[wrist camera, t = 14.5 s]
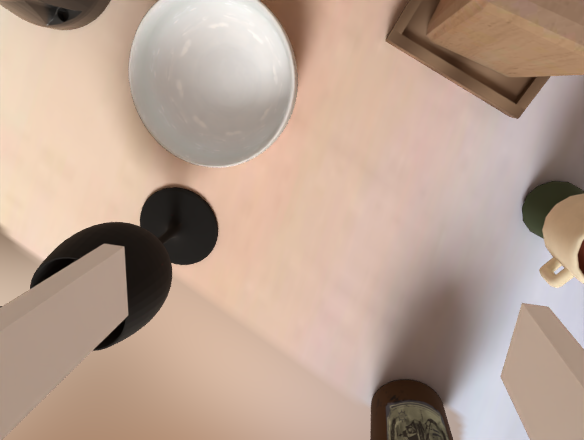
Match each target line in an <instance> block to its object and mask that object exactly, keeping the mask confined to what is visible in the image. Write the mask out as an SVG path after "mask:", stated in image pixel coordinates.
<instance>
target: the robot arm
mask: <svg viewBox="0 0 584 440" xmlns="http://www.w3.org/2000/svg"><path fill="white" fill-rule="evenodd" d="M109 2H110V0H0V5H2V6H3V7H5V8H6V9H8V10H9V11H11V12H12V13H14V14H15V15H17V16H18V17H20V18H22V19H23V20H25V21H28V22H30V23H32V24H35V25H38V26H42V27H47V28H53V29H59V30H71V29H76V28H80V27H83V26H85V25H87V24H89V23H90V22H92V21H93V20H95V19H96V18H97V17H98V16H99V15H100V14H101V13H102V12H103V11H104V10H105V8H106V7H107V5H108V4H109ZM127 316H128V301H127V283H126V266H125V249H124V246H117V245H110V244H103V245H101V246H99V247H98V248H96V249H94V250H93V251H91V252H90V253H88V254H86V255H85V256H83V257H82V258H80V259H78V260H77V261H75V262H73V263H72V264H70V265H69V266H67V267H65V268H64V269H62V270H60V271H59V272H57V273H56V274H54V275H52V276H51V277H49V278H48V279H46V280H44V281H43V282H41V283H39V284H38V285H36V286H35V287H33V288H31V289H30V290H28V291H27V292H25V293H23V294H22V295H20V296H18V297H17V298H15V299H14V300H12V301H10V302H9V303H7V304H6V305H4V306H0V440H3V439H4V438H5V436H7V435H8V434H9V433H10V432H11V431H12V430H13V429H14V428H15V427H16V426H17V425H18V424H19V423H20V422H21V421H22V420H23V419H24V418H25V417H26V416H27V415H28V414H29V413H30V412H31V411H32V410H33V409H34V408H35V407H36V406H37V405H38V404H39V403H40V402H41V401H42V400H43V399H44V398H45V397H46V396H47V395H48V394H49V393H50V392H51V391H52V390H53V389H54V388H55V387H56V386H57V385H58V384H59V383H60V382H61V381H62V380H63V379H64V378H65V377H66V376H67V375H68V374H69V373H70V372H71V371H72V370H73V369H74V368H75V367H76V366H77V365H78V364H79V363H81V362H82V361H83V360H84V358H86V357H87V355H89V354H90V353H91V352H92V351H93V350H94V349H95V348H96V347H97V346H98V345H99V344H100V343H101V342H102V341H103V340H104V339H105V338H106V337H107V336H108V335H109V334H110V333H111V332H112V331H113V330H114V329H115V328H116V327H117V326H118V325H119V324H120V323H121V322H122V321H123V320H124V319H125V318H126V317H127ZM501 379H502V381H503V383H504V385H505V387H506V389H507V391H508V394H509V396H510V398H511V400H512V402H513V404H514V406H515V409H516V411H517V413H518V415H519V417H520V419H521V421H522V423H523V426H524V428H525V430H526V432H527V434H528V436H529V438H530V440H584V349H583V348H582V347H581V345H580V344H579V343H578V342H577V341H576V339H575V338H574V337H573V336H572V335H571V333H570V332H569V331H568V330H567V329H566V327H565V326H564V325H563V324H562V323H561V321H560V320H559V319H558V318H557V317H556V315H555V314H554V313H553V312H552V310H551V309H550V308H549V307H546V306H539V305H532V304H525V303H522V305H521V308H520V312H519V315H518V319H517V322H516V325H515V329H514V332H513V336H512V339H511V343H510V346H509V349H508V353H507V356H506V360H505V363H504V367H503V370H502V373H501Z"/></svg>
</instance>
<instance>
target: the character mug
mask: <svg viewBox="0 0 584 440" xmlns="http://www.w3.org/2000/svg"><path fill="white" fill-rule="evenodd" d="M522 213H523V221H524V223H525V224H526V226H527V227H528V229H529V230H530V231H531V232H533V233H534V234H536V235H538V236H540V237H542V238H543V239H544V241H545V246H546V248H547V249H548V250H549V252H550V253H551V255H552V256H553V258H552V259H551V260H549V261H548V262H547V263H546V264H544V265H543V266H542V267H541V268H540V269H539V271H540V274H541V276H542V277H543V278H544V279H545V280H546V281H547V283H548V284H549V285H550V286H553V287H556V288H559V287H561V286H563V285H564V284H565V283H567V282H568V281H569V280H570V279H572V278H573V277H575V278H576V279H578V280H579V281H580V282H582V283H583V284H584V191H583V190H581V189H580V188H578V187H576V186H574V185H573V184H571V183H569V182H559V181H552V182H549V183H546V184H543V185H540V186H537V187H536V188H535V189H534V190H533V191H532V192H531V193H530V194H528V195H527V197H526V200H525V202H524V205H523V207H522ZM560 266H563V267H564V269H563V270H562V271H560V272H559V273H558V274H557V275H556V274H555V273H554V271H555V270H557V269H558V268H559V267H560Z"/></svg>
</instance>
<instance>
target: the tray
mask: <svg viewBox="0 0 584 440" xmlns="http://www.w3.org/2000/svg"><path fill="white" fill-rule="evenodd" d="M439 2H440V0H409V2H408V4H407V5H406V7H405V9H404V10H403V12H402V14H401V15H400V17H399V19H398V21H397V22H396V24H395V26H394V27H393V29H392V31H391V32H390V34H389V36H388V37H387V39H386V42H388V43H389V44H391V45H393V46H394V47H396V48H398V49H399V50H401V51H403V52H404V53H406V54H408V55H409V56H411V57H412V58H414V59H416V60H417V61H419V62H421V63H422V64H424V65H426V66H427V67H429V68H431V69H432V70H434V71H435V72H437V73H439V74H440V75H442V76H444V77H445V78H447V79H449V80H450V81H452V82H454V83H455V84H457V85H458V86H460V87H462V88H463V89H465V90H467V91H468V92H470V93H472V94H473V95H475V96H476V97H478V98H480V99H481V100H483V101H485V102H486V103H488V104H490V105H491V106H493V107H495V108H496V109H498V110H499V111H501V112H503V113H504V114H506V115H508V116H509V117H512V118H516V119H518V118H519V117H520V116H521V114H522V113H523V112H524V110H525V109H526V108H527V107H528V105H529V104H530V103H531V101H532V100H533V99H534V97H535V96H536V95H537V93H538V92H539V91H540V89H541V88H542V87H543V86H544V84H545V83H546V82H547V80H548V79H549V78H550V76H538V77H506V76H504V75H502V74H500V73H498V72H496V71H494V70H491V69H489V68H487V67H485V66H483V65H481V64H479V63H476V62H474V61H472V60H470V59H468V58H466V57H463V56H461V55H459V54H457V53H455V52H453V51H451V50H448V49H446V48H444V47H442V46H440V45H438V44H435V43H433V42H431V41H430V39H429V38H428V37H427V36H426V32H427V26H428V24H429V22H430V20H431V18H432V16H433V14H434V12H435V10H436V8H437V6H438V4H439Z"/></svg>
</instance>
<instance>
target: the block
mask: <svg viewBox="0 0 584 440" xmlns="http://www.w3.org/2000/svg"><path fill="white" fill-rule="evenodd" d="M426 36H427V37H428V38H429V39H430V41H431V42H433V43H435V44H438V45H440V46H442V47H444V48H446V49H448V50H451V51H453V52H455V53H457V54H459V55H461V56H463V57H466V58H468V59H470V60H472V61H474V62H476V63H479V64H481V65H483V66H485V67H487V68H489V69H491V70H494V71H496V72H498V73H500V74H502V75H504V76H506V77H538V76H563V75H584V0H440V2H439V4H438V6H437V8H436V10H435V12H434V14H433V16H432V18H431V20H430V22H429V24H428V26H427V32H426Z"/></svg>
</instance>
